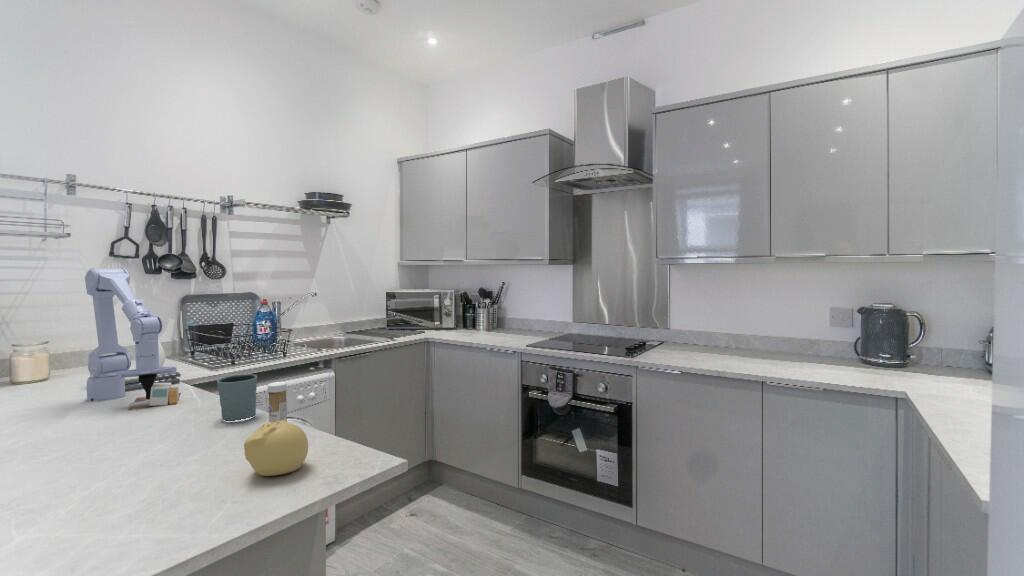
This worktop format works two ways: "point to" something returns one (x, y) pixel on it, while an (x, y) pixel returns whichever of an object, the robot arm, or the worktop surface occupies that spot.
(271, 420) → the sprinkles bottle
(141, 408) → the board
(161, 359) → the sauce bottle
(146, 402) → the rail
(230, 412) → the teal cup
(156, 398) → the block
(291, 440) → the sculpture
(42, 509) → the worktop surface
